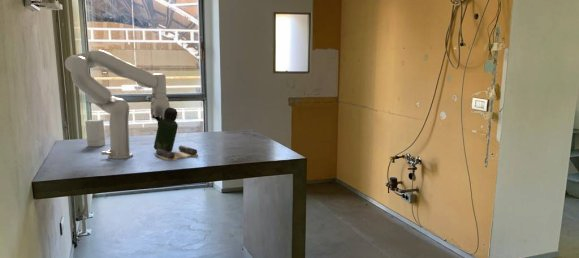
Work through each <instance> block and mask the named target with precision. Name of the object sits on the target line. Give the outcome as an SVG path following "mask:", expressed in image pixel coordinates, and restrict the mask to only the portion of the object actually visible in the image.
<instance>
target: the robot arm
mask: <svg viewBox="0 0 579 258" xmlns="http://www.w3.org/2000/svg"><path fill="white" fill-rule="evenodd" d="M64 66H65V69H66V70H67V71H68V72H70V78H71V81H72V82H73V84H74V85H75V86H76V87H77V88H78V89H79V90H80V91H82V92H83V93H84V94H86V97H87V99H88V100H89V101H90V102H91V103H92V104H94V105H95V106H97V107H98V108H99V109H101V110H102V111H104V112H105V113H107V114H109V123H108V125H109V141H110V148H108V149H107V150H102V151H101V155H102V156H105V155H106V156H107V158H109V159H113V160H114V159H115V160H117V159H118V160H120V159H121V160H123V159H128V158H131V157H133V156H134V154H133V152H130V151H131V150H130V132H129V131H130V129H129V128H130V127H129V126H130V125H129V115H130V105H129V103H128V102H127V101H126V100H125V99H124V98H121V97H116V96H115V95H113V94H112V93H111V91H110V89H109V88H108V87H107V86H104V85H103V84H102V83H100V82H99V81H98V80H96V79H95V78H94V77H93V76H92V75H91V74H90V72H89V70H90V69H92V68H96V67H98V68H102V70H105V71H107V72H110V73H111V74H113V75H115V76H118V77H120V78H124V79H128V80H131V81H133V82H136V84H137V85H138V86H139V87H140V88H147V89H151V93H152V94H150V95H149V96H150V97H151V101H150V114H151V115H150V116H151V117H150V118H151V119H155V121H156V122H157V125H158V124H159V122H160V120H162V119H164V112H165V110H166V109H167V108H171V106H170V105H171V104H170V102H169V98H168V97H167V78H166V75H165V74H164V73H150V72H149V71H147V70H145V69H143V68H140V67H138V66H136V65H134V64H132V63H130V62H127V61H126V60H123V59H121V58H119V57H117V56H115V55H113V54H111V53H110V52H108V51H105V50H102V49H94V50H89V51H85V52H82V53H78V54H73V55H69V56H68V57H67V58H66V59H65V61H64Z"/></svg>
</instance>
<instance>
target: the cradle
mask: <svg viewBox="0 0 579 258" xmlns="http://www.w3.org/2000/svg"><path fill="white" fill-rule="evenodd" d="M155 153H156V154H155V155H154V156H155V157H156V158H159V159H162V160H165V161H167V162H171V161H176V160H182V159H188V158H194V157H199V153H198V150H197V149H196V148H191V147H188V146H185V145H179V146H178V151H177V150H176V151H171V152H168V151H165V150H162V149H157V150H155Z"/></svg>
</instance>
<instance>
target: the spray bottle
mask: <svg viewBox="0 0 579 258" xmlns="http://www.w3.org/2000/svg"><path fill="white" fill-rule="evenodd" d="M177 117H178V111H177V109H175V108H173V107H170V108H167V109H166V110H165V112H164V119H162V120H160V122H159V124H158V123H157V130H156V134H155V139H154V145H153V148H154V150H155V151H156V150H157V149H162V150H165V151H168V152H173V149H174V145H175V141H176V137H177V131H178V129H179V128H178V127H179V126H178V125H179V124H178V122H176V119H177Z"/></svg>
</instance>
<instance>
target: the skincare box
mask: <svg viewBox="0 0 579 258" xmlns="http://www.w3.org/2000/svg"><path fill="white" fill-rule="evenodd" d="M84 122H85V131H86V144H87V147H97V148H98V147H99V148H100V147H104V146H105V145H106V137H105V135H106V134H105V127H104V125H105V124H104V119H89V120H85V121H84Z"/></svg>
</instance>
